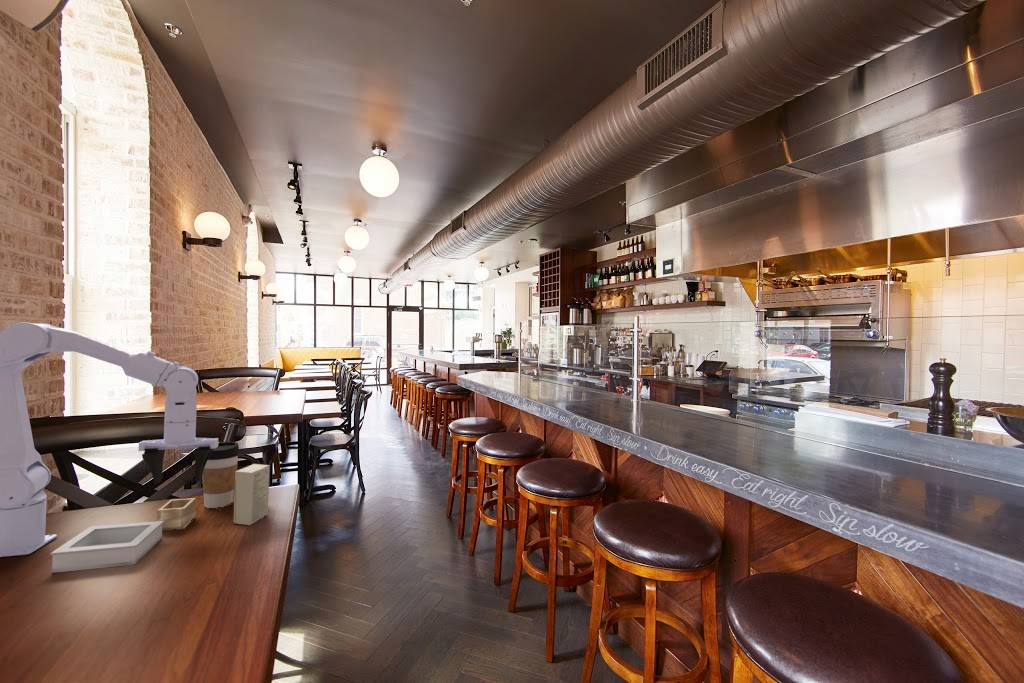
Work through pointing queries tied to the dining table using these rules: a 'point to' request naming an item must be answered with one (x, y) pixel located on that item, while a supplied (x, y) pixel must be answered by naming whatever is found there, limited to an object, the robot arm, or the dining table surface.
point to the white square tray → (107, 546)
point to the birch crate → (177, 513)
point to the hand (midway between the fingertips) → (178, 481)
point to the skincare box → (251, 493)
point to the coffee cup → (220, 475)
